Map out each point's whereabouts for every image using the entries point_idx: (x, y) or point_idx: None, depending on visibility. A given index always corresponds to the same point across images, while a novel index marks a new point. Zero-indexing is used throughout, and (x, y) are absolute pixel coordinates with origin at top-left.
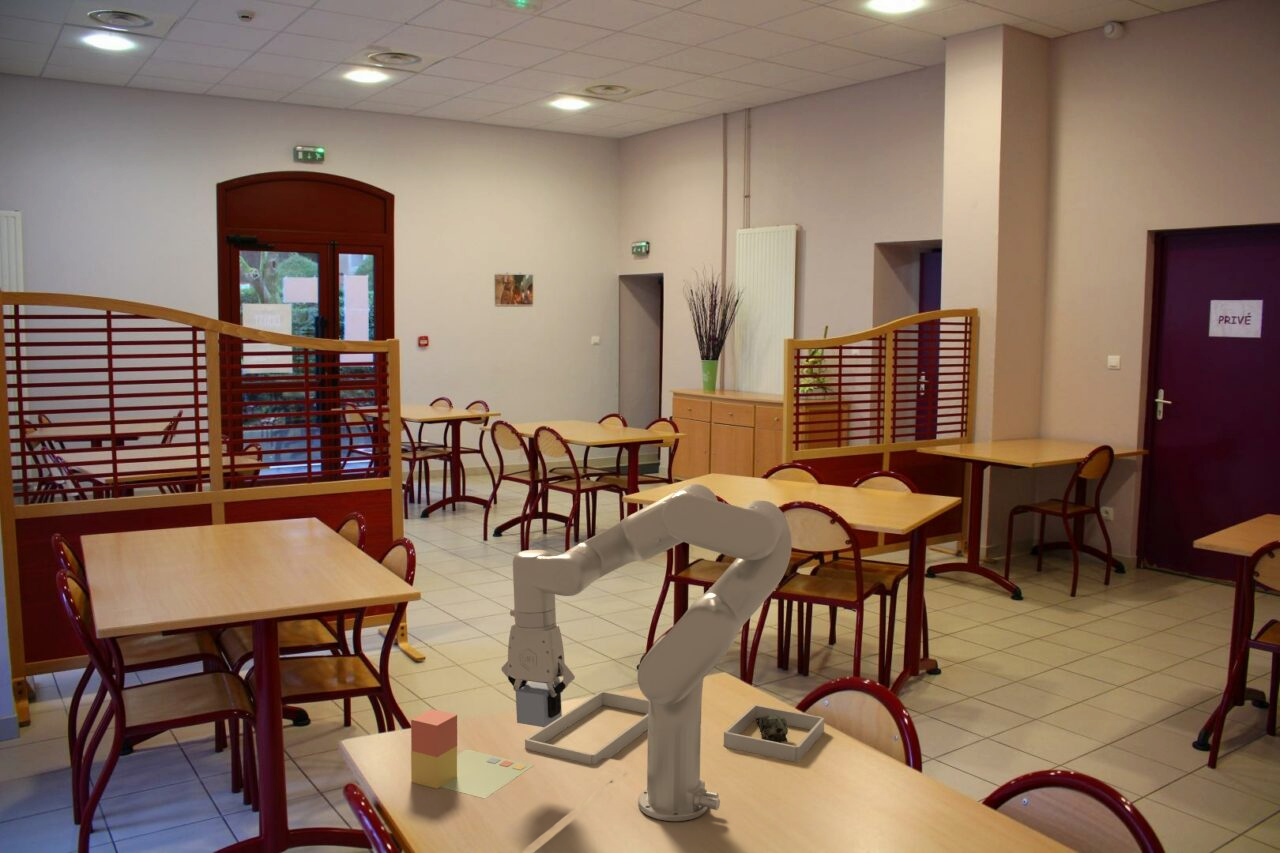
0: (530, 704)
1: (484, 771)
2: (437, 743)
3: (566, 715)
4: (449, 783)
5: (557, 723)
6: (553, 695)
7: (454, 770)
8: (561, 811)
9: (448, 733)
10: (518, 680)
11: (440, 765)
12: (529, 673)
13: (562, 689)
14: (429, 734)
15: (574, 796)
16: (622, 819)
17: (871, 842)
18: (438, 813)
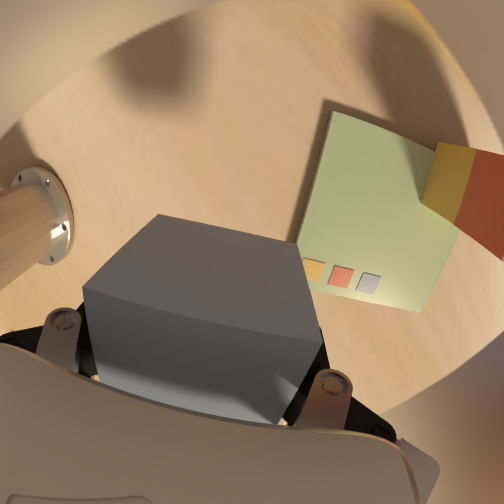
0: (205, 273)
1: (375, 235)
2: (497, 155)
3: (278, 423)
4: (424, 168)
5: None
6: (70, 318)
7: (429, 198)
8: (168, 130)
9: (491, 204)
10: (319, 427)
11: (459, 157)
12: (139, 467)
13: (18, 335)
14: None
15: (167, 197)
16: (73, 146)
17: None
18: (400, 69)
